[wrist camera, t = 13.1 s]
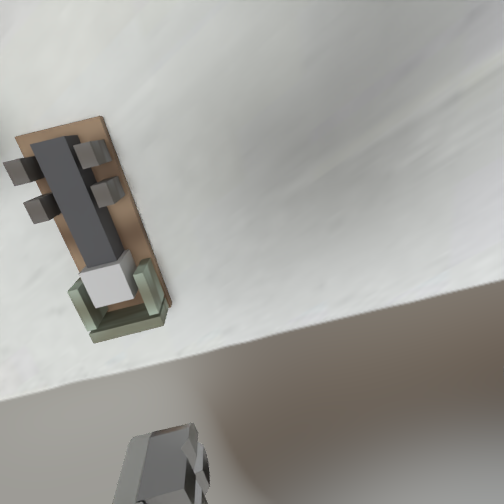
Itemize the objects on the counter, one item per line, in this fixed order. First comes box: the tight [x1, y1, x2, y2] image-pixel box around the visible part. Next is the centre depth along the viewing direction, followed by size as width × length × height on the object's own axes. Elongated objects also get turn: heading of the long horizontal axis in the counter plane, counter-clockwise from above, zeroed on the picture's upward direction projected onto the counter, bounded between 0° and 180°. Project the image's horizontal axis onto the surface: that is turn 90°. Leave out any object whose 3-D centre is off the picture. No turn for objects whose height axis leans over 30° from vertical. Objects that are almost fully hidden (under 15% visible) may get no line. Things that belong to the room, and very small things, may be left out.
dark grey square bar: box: [30, 135, 138, 308], centre depth 32 cm, size 16×4×4 cm, turn 13°
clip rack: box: [3, 116, 172, 343], centre depth 33 cm, size 21×8×5 cm, turn 13°
